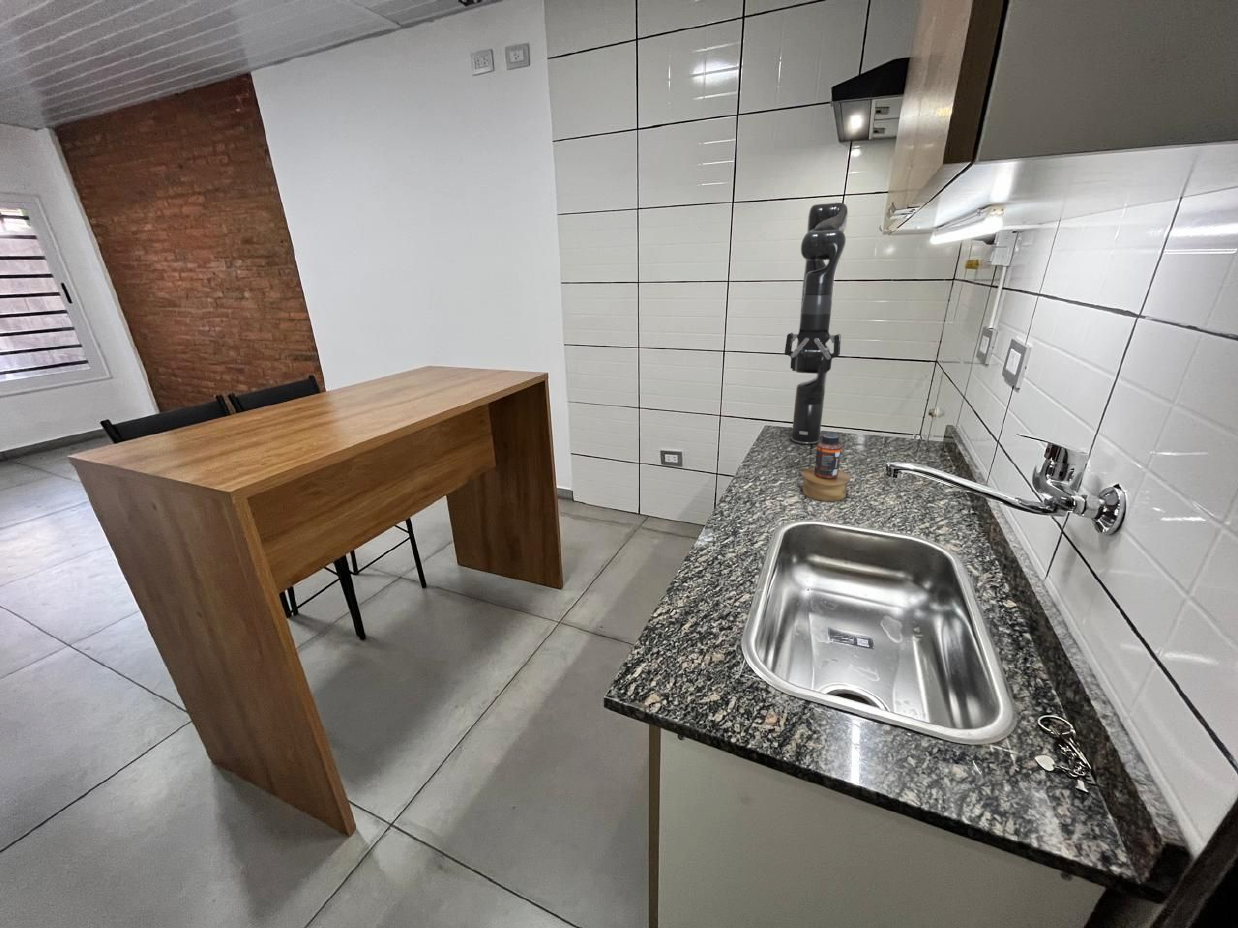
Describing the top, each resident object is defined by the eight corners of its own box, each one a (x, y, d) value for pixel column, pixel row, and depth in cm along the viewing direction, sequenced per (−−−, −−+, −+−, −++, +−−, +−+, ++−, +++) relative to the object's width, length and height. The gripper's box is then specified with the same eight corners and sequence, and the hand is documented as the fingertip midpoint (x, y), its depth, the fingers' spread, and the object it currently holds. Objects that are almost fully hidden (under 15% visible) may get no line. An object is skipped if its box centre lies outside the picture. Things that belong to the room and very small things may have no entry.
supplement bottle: (841, 479, 127) (847, 438, 123) (818, 480, 127) (823, 439, 123) (832, 470, 133) (837, 431, 129) (810, 471, 133) (815, 432, 129)
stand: (806, 480, 140) (808, 464, 138) (851, 488, 133) (854, 472, 132) (795, 496, 130) (797, 479, 129) (843, 505, 124) (845, 487, 122)
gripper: (846, 310, 130) (839, 370, 136) (792, 310, 138) (787, 367, 144) (841, 313, 124) (833, 375, 130) (785, 313, 132) (780, 372, 138)
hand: (809, 371), depth 137 cm, fingers open, 8 cm apart
